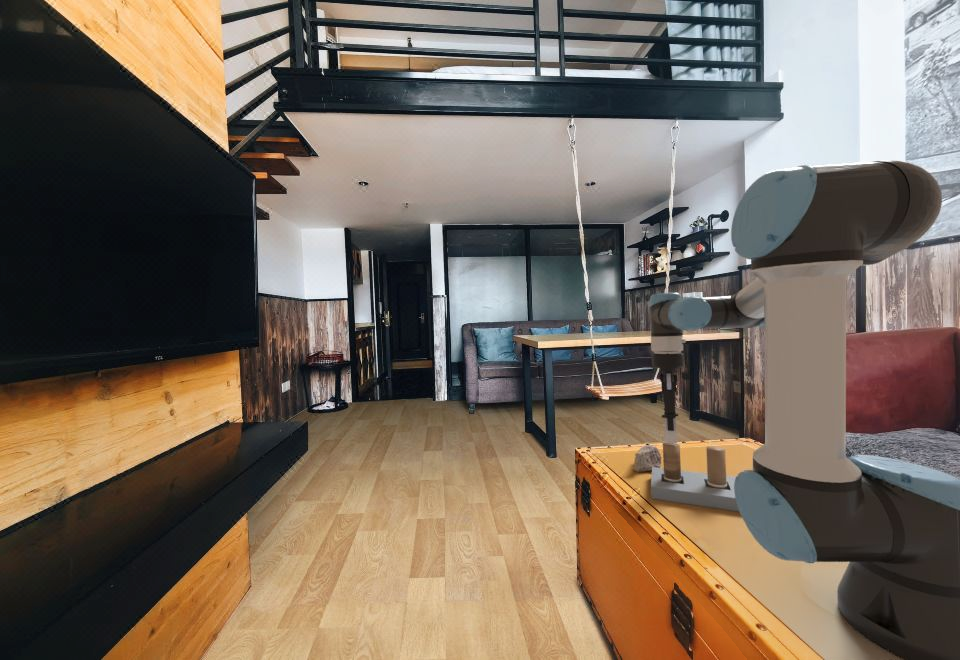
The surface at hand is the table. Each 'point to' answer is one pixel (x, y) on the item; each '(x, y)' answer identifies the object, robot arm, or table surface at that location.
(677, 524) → the table surface
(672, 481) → the dowel
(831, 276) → the robot arm
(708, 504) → the board
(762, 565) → the table surface
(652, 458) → the mineral specimen
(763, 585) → the table surface
